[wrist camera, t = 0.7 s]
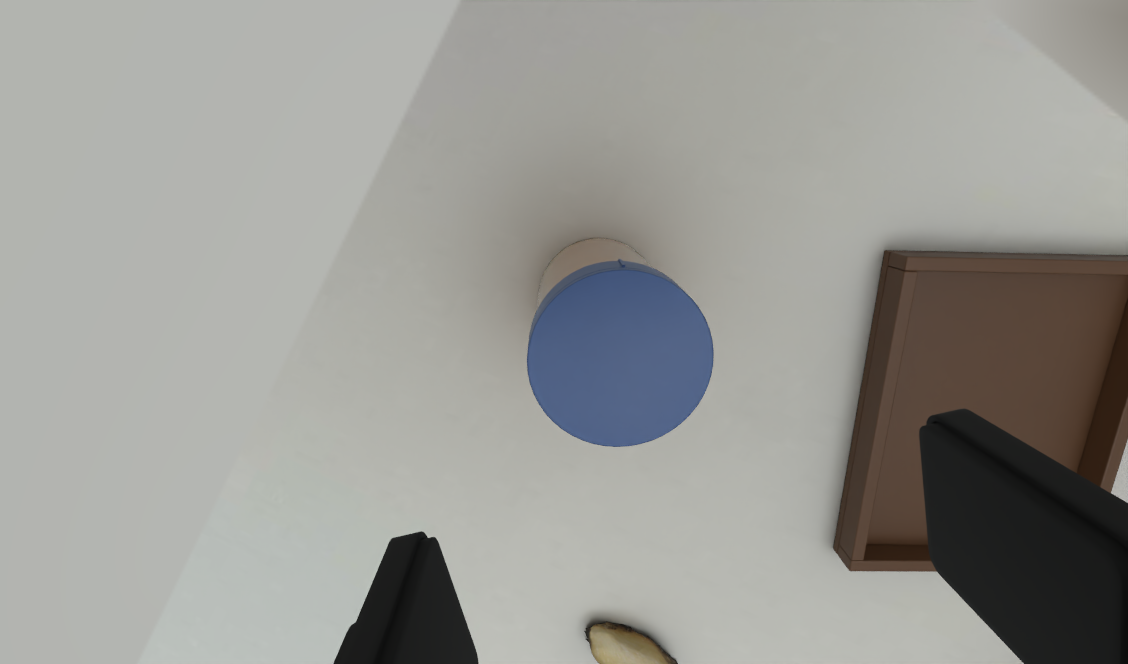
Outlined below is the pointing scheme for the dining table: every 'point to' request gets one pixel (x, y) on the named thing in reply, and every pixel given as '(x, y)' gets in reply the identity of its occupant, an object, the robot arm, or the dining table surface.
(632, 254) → the jar
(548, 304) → the lid
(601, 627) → the nut kernel
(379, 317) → the dining table surface
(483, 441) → the dining table surface
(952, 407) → the tray
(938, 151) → the dining table surface
